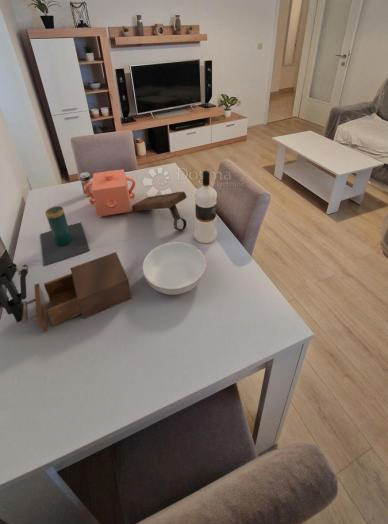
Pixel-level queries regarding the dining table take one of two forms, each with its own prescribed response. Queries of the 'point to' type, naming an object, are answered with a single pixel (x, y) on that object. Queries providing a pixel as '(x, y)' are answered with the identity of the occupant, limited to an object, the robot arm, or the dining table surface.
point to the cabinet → (100, 284)
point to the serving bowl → (174, 267)
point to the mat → (60, 253)
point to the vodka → (205, 211)
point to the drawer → (54, 302)
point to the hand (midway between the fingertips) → (20, 317)
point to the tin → (59, 225)
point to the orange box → (110, 192)
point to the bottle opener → (163, 205)
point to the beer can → (84, 180)
